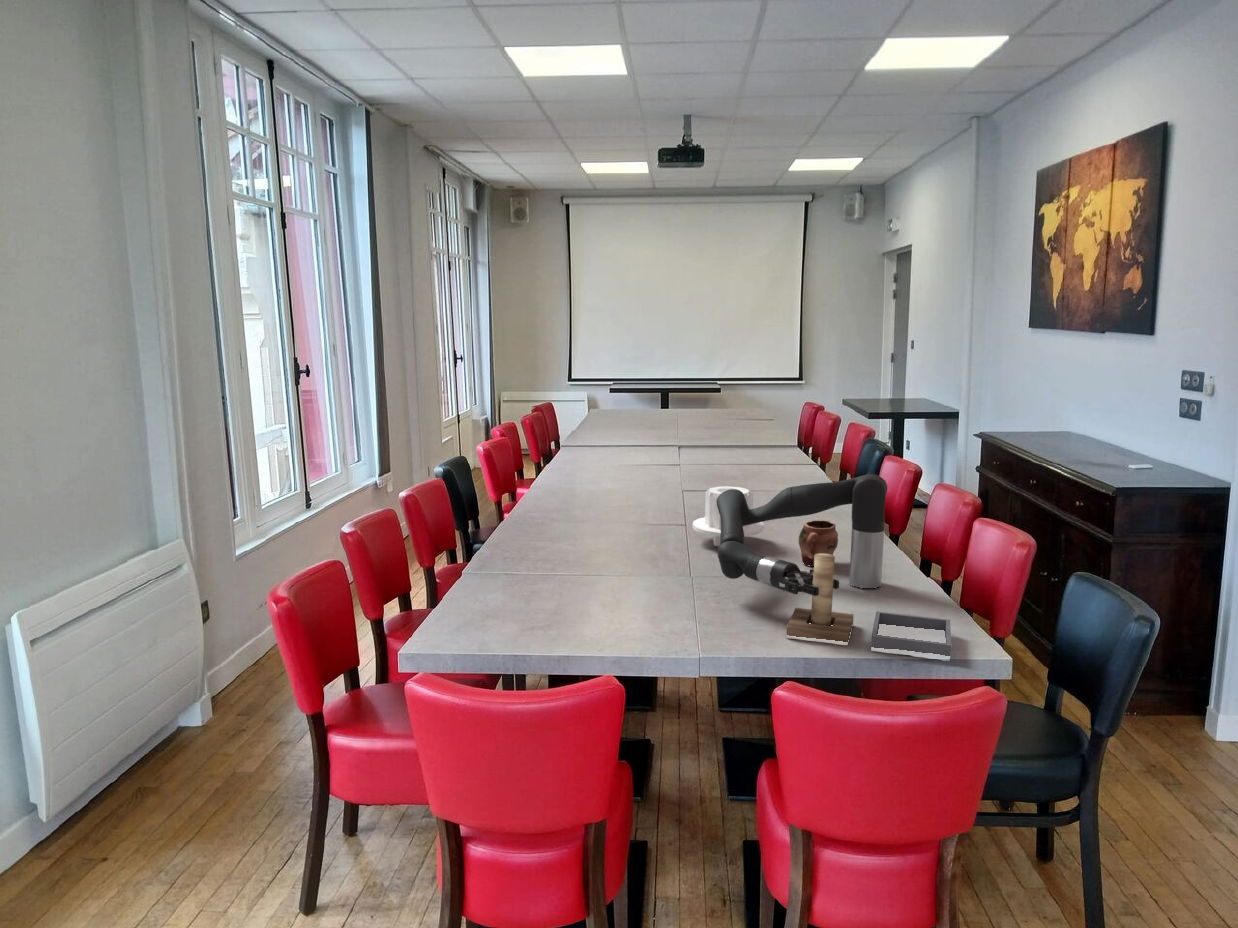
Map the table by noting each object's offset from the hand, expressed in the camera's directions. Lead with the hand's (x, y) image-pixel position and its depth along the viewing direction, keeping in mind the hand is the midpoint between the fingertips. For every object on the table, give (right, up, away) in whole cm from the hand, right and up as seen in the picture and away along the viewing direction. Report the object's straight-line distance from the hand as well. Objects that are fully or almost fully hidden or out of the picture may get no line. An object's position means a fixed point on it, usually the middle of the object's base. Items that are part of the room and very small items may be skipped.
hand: (828, 588), depth 216 cm
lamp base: (-14, +3, +87) cm, 88 cm away
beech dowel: (-1, -12, +4) cm, 12 cm away
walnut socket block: (-1, -12, +4) cm, 12 cm away
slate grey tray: (+20, -13, -4) cm, 24 cm away
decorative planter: (+11, -2, +60) cm, 61 cm away
